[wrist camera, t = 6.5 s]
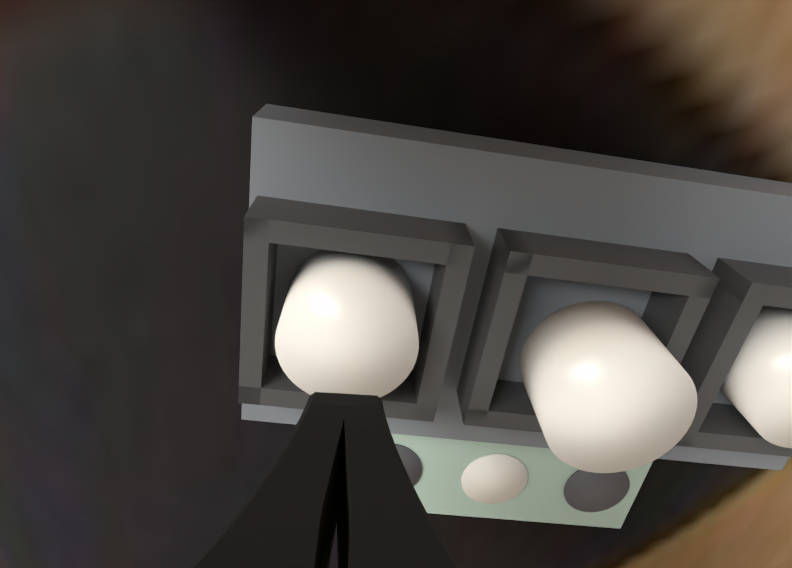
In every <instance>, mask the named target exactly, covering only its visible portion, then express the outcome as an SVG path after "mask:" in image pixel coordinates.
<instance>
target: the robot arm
mask: <svg viewBox="0 0 792 568" xmlns="http://www.w3.org/2000/svg"><path fill="white" fill-rule="evenodd" d="M336 523H337V559H338V568H460V567H459V565H458V564H457V562H456V561H455V559H454V558H453V556H452V554H451V553H450V551H449V550H448V548H447V547H446V545H445V543H444V542H443V540H442V538H441V537H440V535H439V533H438V532H437V530H436V528H435V526H434V525H433V523H432V521H431V519H430V517H429V516H428V514H427V512H426V510H425V508H424V506H423V504H422V502H421V501H420V499H419V497H418V495H417V493H416V491H415V489H414V487H413V485H412V482H411V480H410V478H409V476H408V474H407V471H406V469H405V467H404V465H403V462H402V460H401V458H400V456H399V453H398V451H397V448H396V446H395V443H394V440H393V437H392V435H391V432H390V429H389V426H388V423H387V419H386V416H385V412H384V408H383V402H382V400H381V399H380V398H379V397H378V396H376V395H359V394H342V393H325V392H314V393H313V394H312V395H310V396H309V398H308V401H307V404H306V406H305V408H304V410H303V413H302V415H301V417H300V419H299V421H298V423H297V424H296V426H295V428H294V430H293V432H292V433H291V435H290V437H289V439H288V440H287V442H286V444H285V445H284V447H283V448H282V450H281V451H280V453H279V455H278V456H277V458H276V459H275V461H274V463H273V464H272V466H271V467H270V469H269V470H268V472H267V473H266V475H265V476H264V477H263V479H262V480H261V482H260V483H259V484H258V486H257V487H256V488H255V490H254V491H253V493H252V494H251V495H250V497H249V498H248V499H247V501H246V502H245V504H244V505H243V506H242V508H241V509H240V510H239V511H238V513H237V514H236V515H235V516H234V518H233V519H232V520H231V521H230V523H229V524H228V525H227V526H226V528H225V529H224V530H223V531H222V532H221V534H220V535H219V536H218V537H217V538H216V539H215V540H214V542H213V543H212V544H211V545H210V546H209V547H208V549H207V550H206V551H205V552H204V553H203V554H202V555H201V556H200V557H199V559H198V560H197V561H196V562H195V563H194V564H193V565H192V566H191V567H190V568H329V564H330V558H331V552H332V546H333V541H334V535H335V529H336Z"/></svg>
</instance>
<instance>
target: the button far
mask: <svg viewBox="0 0 792 568" xmlns="http://www.w3.org/2000/svg"><path fill="white" fill-rule="evenodd" d="M720 391H721V392H722V393H723V394H724V395H725V396H726V397H727V399H728V400H729V401H730V402H731V403H732V404H733V405H734V406H735V407H736V409H737V410H738V411H739V412H740V413H741V414H742V415H743V416H744V417H745V419H746V420H747V421H748V422H749V423H750V424H751V425H752V426H753V428H754V429H755V430H756V431H757V432H758V433H759V434H760V435H761V436H762V437H763V438H764V439H765V440H767V441H768V442H770V443H772V444H774V445H777V446H780V447H785V448H792V309H788V308H780V307H772V306H764V305H763V307H762V309H761V311H760V313H759V315H758V316H757V318H756V320H755V322H754V324H753V326H752V328H751V330H750V332H749V334H748V336H747V338H746V340H745V342H744V344H743V346H742V347H741V349H740V351H739V353H738V355H737V357H736V359H735V361H734V363H733V365H732V367H731V369H730V371H729V373H728V375H727V377H726V379H725V380H724V382H723V384H722V386H721V388H720Z"/></svg>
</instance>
